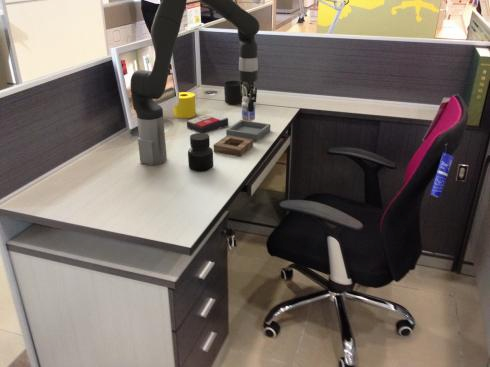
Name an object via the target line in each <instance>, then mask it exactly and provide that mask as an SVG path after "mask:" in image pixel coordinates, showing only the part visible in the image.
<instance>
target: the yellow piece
mask: <svg viewBox="0 0 490 367" xmlns="http://www.w3.org/2000/svg"><path fill="white" fill-rule="evenodd" d="M178 93H179V103H178V105H177V106H175V107H174V106H173V114H174V116H175V118H180V119H189V118H193V117H195V116H196V115H197V114H196V97H195V96H196V94H195V93H193V92H188V91H185V92H184V91H183V92H181V91H180V92H178Z"/></svg>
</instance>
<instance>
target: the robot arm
mask: <svg viewBox="0 0 490 367" xmlns="http://www.w3.org/2000/svg"><path fill="white" fill-rule="evenodd" d="M187 1H188V0H161V1H160V4H159V5H158V8H157V10H156V12H155V15H154V18H153V21H152V25H151V29H150V38H151V42H152V45H153V49H154V50H153V51H154V62H153V66H152V70H145V69H138V70H135V71H134V72H133V73H132V75H131V78H130V92H131V98H132V99H131V100H132V106H133V109H134V111H135V113H136V118H137V128H138V139H137V145H138V153H139V160H140V164H144V165H149V166H156V165H162V164H163V163H165V162H167V160H168V159H167V145H166V133H165V121H164V110H163V107H162V106H161V105H159V104H158V103H157V102H156V101H155V100H159V99H160V98H161V97H162V96H164V94H165V90H166V87H167V84H168V83H167V82H168V77H169V71H170V66H171V62H172V57H173V55H174V54H173V53H174V49H175V45H176V42H177V39H178V36H179V33H180V28H181V25H182V21H183V17H184V14H185V10H186V6H187ZM199 1H200V2H202V3H204V4H205V5H206V6H208V7H209V8H210V9H212V11H215V12H216V13H217V14H218V15H220V16H221V17H222V18H223V19H225V20H226V21H227V22H228V23H231V24H232V25H234V26H235V27H236V28H237V29H236V30H237V35H238V36H237V37H238V42H239V49H238V50H239V55H238V56H239V59H238V81H240V88H241V96H242V99H243V97H244V96H246V97H247V98H248V111H249V112H253V111H254V103H256V102H257V98H258V97H257V94H258V89H257V88H255V82H257V81H258V78H259V76H258V74H259V72H258V71H259V66H258V65H259V63H258V62H259V61H258V44H257V42H256V38H255V36H256V35H257V34H258V33H259V30H260V22H259V20H258V19H257V18H256V17H255V16H253V15H252V14H250V12H248V11H246V10H245V9H244V8H242V7H241V6H240V5H239V4H238V3H237V2H236V1H234V0H199ZM249 97H250V98H249Z"/></svg>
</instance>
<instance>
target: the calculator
mask: <svg viewBox="0 0 490 367" xmlns="http://www.w3.org/2000/svg"><path fill="white" fill-rule="evenodd" d="M228 126H229V118H228V117H225V116H223V115H221V114H220V115H219V114H217V113H215V112H210V113H208V114H203V115H201V116H198V117H195V118H192V119H189V120H187V121H186V127H187V128H188V129H190V130H192V131H194V132H196V133H206V134H207V133H210V132H213V131H216V130H219V129H220V128H221V129H222V128H225V127H228Z"/></svg>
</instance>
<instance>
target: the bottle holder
mask: <svg viewBox="0 0 490 367" xmlns="http://www.w3.org/2000/svg"><path fill="white" fill-rule="evenodd" d="M253 147H254V141H253V139H247V138H241V137H236V136H230V135H227V136H226V135H225V136H224V137H223V138H221V139H220V140H218V141H217V142H215V143H214V144H213V153H217V154H222V155H227V156H233V157H238V158H242V156H244V155H245V154H246V153H247V152H249V151H250V150H251V149H252V148H253ZM249 149H250V150H249Z"/></svg>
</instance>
